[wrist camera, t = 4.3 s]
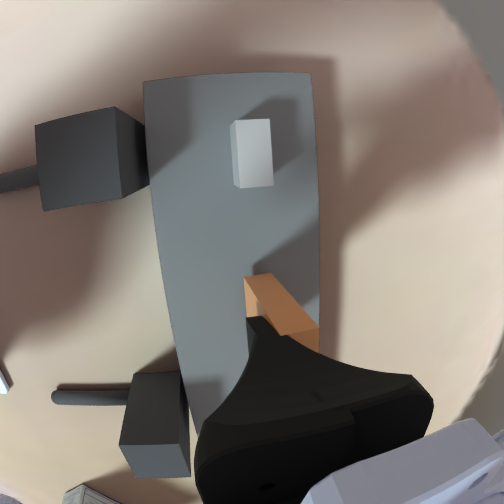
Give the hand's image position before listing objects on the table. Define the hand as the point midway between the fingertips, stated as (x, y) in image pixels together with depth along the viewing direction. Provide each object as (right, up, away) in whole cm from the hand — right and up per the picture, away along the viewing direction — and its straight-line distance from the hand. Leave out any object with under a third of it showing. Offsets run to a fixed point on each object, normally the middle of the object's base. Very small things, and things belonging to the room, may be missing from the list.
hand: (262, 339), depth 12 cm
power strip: (-1, +2, +6) cm, 6 cm away
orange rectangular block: (0, +1, +3) cm, 3 cm away
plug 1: (-10, +7, +3) cm, 13 cm away
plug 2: (-9, -6, +7) cm, 13 cm away
